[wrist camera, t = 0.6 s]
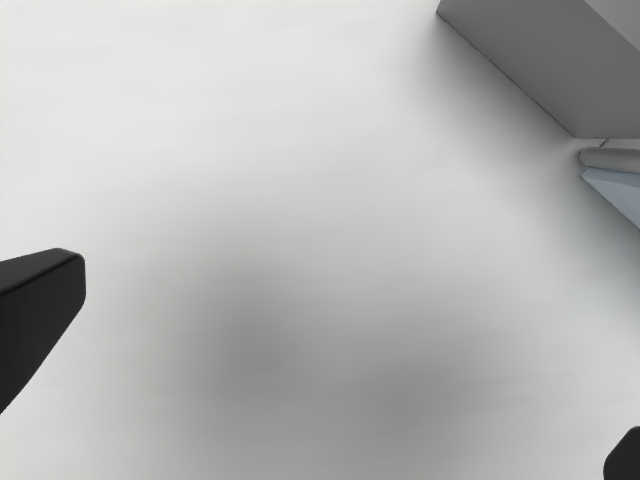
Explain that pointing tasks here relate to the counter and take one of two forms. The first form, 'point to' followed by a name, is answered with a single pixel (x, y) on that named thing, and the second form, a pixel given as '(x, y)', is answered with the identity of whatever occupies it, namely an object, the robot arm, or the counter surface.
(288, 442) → the counter surface
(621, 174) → the side door
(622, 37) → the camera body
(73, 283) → the robot arm
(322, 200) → the counter surface
